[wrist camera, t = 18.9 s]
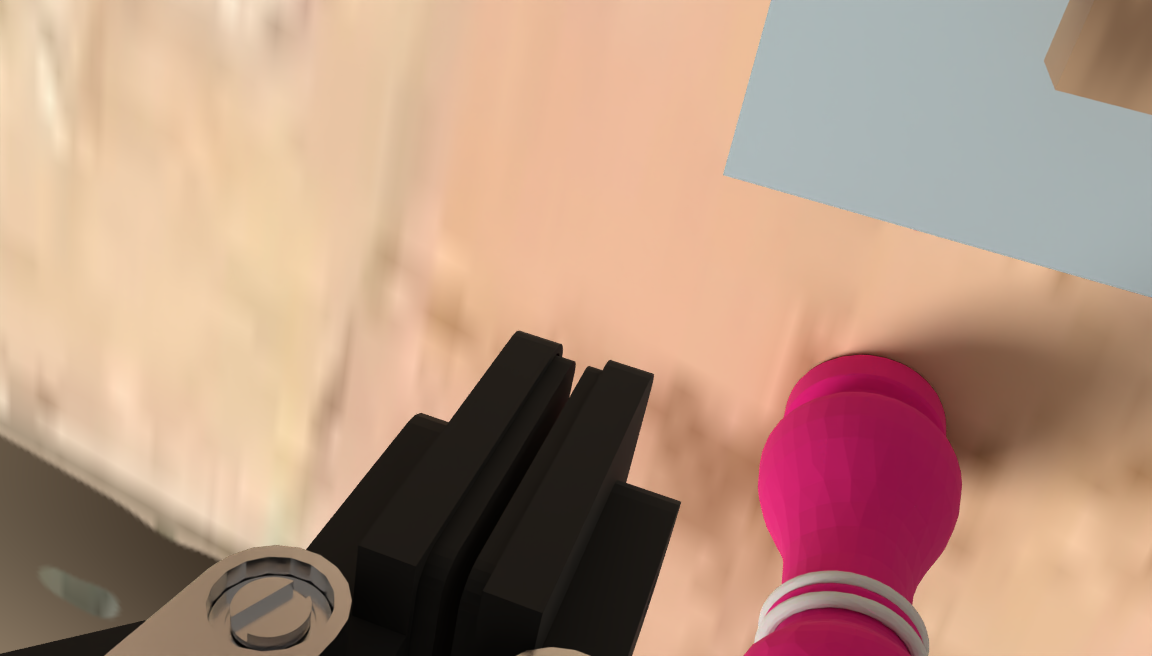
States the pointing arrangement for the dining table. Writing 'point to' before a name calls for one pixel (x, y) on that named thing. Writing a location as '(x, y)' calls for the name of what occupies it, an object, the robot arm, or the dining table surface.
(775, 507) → the pepper mill
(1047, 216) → the board
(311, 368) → the dining table surface
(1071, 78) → the walnut slab
